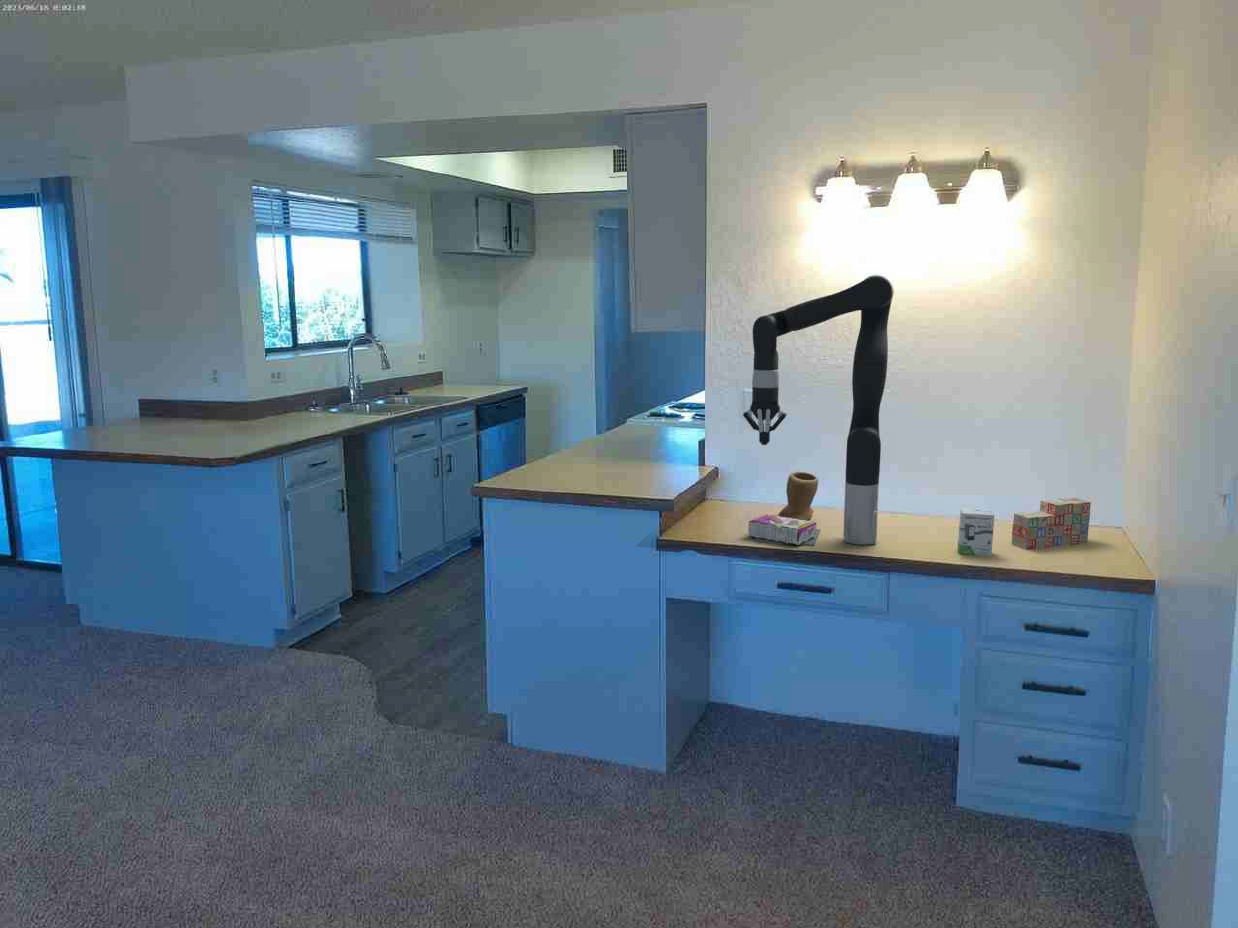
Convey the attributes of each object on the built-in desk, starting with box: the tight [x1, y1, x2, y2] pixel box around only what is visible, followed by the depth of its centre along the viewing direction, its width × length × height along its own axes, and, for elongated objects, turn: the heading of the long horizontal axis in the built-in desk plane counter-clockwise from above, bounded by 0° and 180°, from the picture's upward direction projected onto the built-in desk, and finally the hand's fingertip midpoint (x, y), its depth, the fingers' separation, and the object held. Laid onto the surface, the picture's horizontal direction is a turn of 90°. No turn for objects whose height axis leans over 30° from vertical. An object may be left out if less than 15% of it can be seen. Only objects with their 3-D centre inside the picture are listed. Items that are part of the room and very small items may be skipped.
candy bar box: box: [748, 514, 817, 546], centre depth 282 cm, size 11×5×16 cm
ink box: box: [957, 508, 995, 557], centre depth 266 cm, size 9×5×12 cm, turn 75°
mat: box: [753, 528, 821, 547], centre depth 286 cm, size 17×18×1 cm
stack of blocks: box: [1011, 497, 1092, 550], centre depth 275 cm, size 21×6×12 cm, turn 109°
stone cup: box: [777, 470, 819, 521], centre depth 305 cm, size 15×12×15 cm
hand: (764, 444), depth 283 cm, fingers closed
